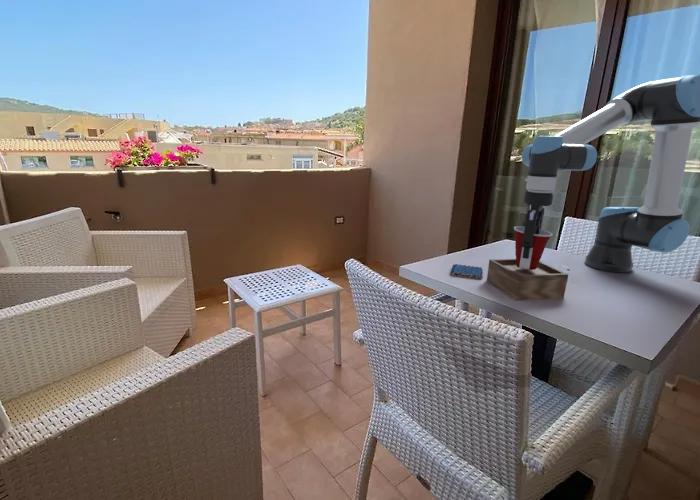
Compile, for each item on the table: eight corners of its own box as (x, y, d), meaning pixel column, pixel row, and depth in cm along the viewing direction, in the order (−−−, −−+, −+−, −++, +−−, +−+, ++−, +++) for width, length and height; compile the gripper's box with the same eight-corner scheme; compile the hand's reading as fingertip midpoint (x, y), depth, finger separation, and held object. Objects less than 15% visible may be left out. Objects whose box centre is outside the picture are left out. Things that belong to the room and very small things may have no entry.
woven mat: (482, 281, 122) (483, 276, 121) (450, 277, 125) (450, 271, 125) (482, 272, 132) (483, 266, 131) (452, 268, 135) (453, 262, 134)
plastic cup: (551, 274, 107) (558, 234, 104) (512, 271, 109) (518, 232, 106) (540, 263, 117) (546, 226, 114) (504, 260, 119) (510, 224, 116)
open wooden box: (529, 279, 124) (533, 258, 122) (563, 298, 109) (568, 274, 107) (486, 280, 121) (489, 259, 119) (515, 300, 106) (518, 276, 104)
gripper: (532, 187, 117) (521, 254, 123) (517, 193, 100) (506, 270, 106) (558, 189, 113) (546, 258, 119) (548, 195, 96) (534, 276, 102)
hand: (527, 264), depth 113 cm, fingers closed on plastic cup, 9 cm apart
